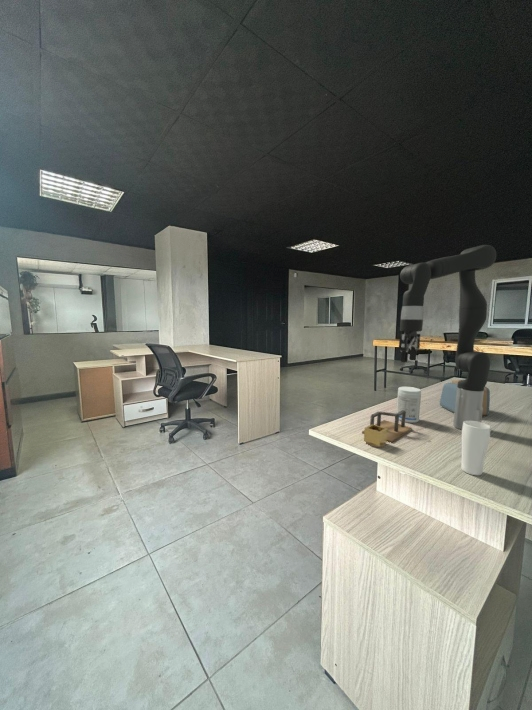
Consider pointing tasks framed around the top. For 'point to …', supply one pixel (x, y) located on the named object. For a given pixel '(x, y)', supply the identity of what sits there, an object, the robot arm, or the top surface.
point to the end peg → (376, 445)
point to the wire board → (391, 425)
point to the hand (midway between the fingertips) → (408, 361)
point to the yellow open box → (375, 435)
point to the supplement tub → (409, 403)
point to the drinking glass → (474, 446)
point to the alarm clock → (450, 397)
